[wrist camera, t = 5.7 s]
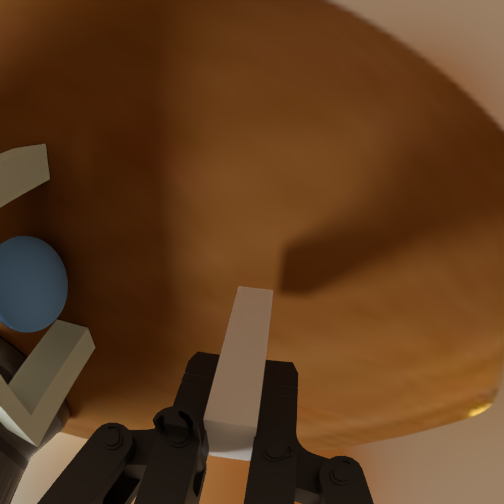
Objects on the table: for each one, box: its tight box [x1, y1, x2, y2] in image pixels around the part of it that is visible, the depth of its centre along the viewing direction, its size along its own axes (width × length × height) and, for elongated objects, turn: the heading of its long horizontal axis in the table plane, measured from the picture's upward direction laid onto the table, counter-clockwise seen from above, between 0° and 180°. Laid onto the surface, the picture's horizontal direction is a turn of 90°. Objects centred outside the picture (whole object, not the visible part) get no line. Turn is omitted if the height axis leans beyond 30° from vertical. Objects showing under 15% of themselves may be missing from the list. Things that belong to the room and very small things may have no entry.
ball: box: [0, 236, 68, 332], centre depth 14 cm, size 6×6×6 cm
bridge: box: [0, 144, 96, 447], centre depth 13 cm, size 3×14×9 cm, turn 177°
